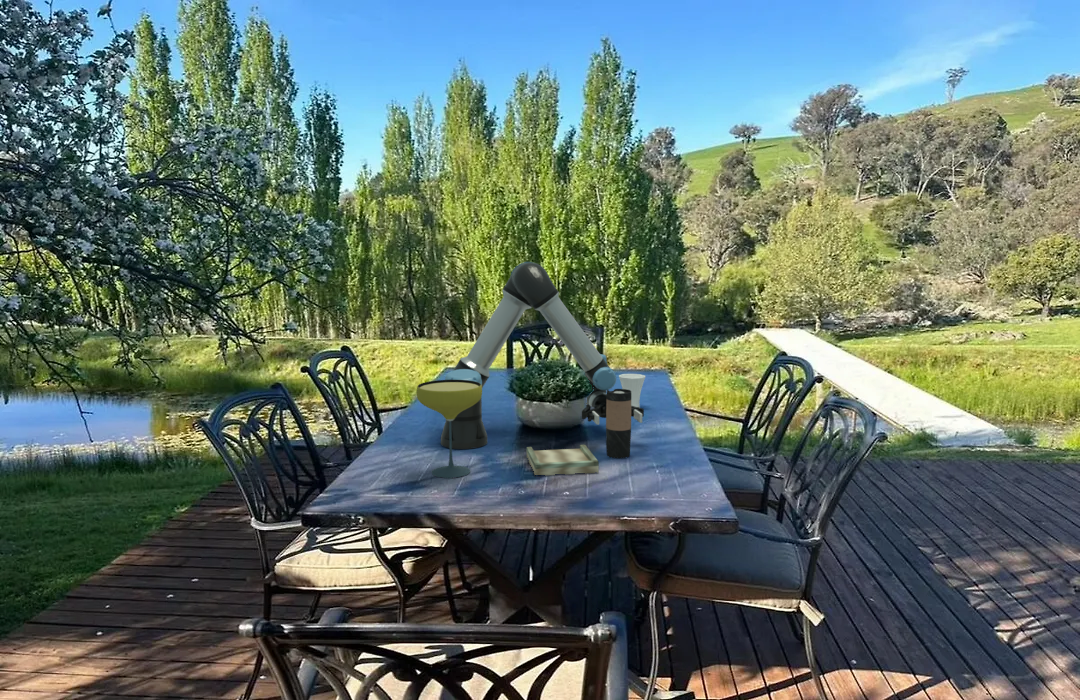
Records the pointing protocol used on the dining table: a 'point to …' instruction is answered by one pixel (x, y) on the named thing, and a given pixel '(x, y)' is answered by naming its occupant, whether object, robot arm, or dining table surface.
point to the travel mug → (618, 423)
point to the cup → (633, 386)
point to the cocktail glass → (449, 410)
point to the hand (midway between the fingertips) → (619, 419)
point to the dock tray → (562, 461)
